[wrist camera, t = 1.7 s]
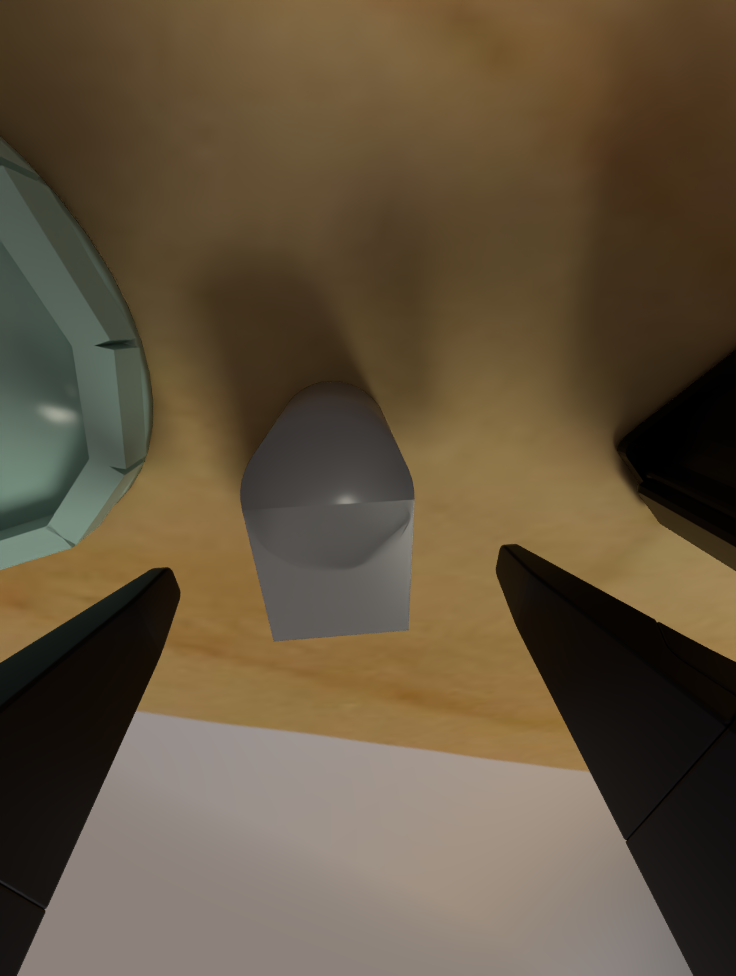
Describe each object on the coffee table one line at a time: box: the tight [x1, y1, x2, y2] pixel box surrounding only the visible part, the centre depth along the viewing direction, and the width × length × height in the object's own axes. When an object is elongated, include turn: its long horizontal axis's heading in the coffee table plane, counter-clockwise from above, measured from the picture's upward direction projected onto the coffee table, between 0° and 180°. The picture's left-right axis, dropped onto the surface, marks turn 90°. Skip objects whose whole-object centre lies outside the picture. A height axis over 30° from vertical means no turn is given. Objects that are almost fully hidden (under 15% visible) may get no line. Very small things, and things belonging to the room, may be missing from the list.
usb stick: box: [240, 381, 414, 641], centre depth 11 cm, size 8×4×5 cm, turn 1°
